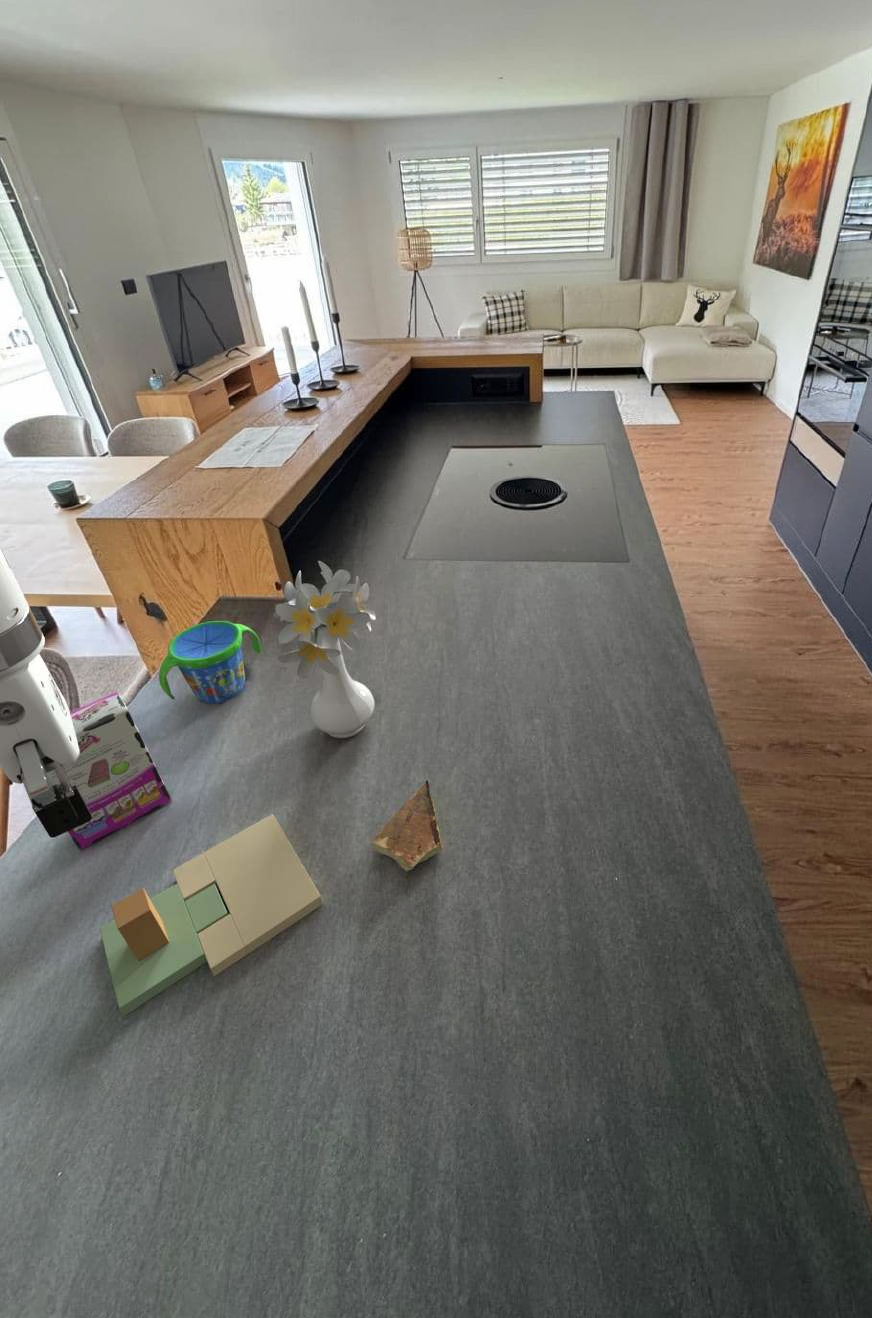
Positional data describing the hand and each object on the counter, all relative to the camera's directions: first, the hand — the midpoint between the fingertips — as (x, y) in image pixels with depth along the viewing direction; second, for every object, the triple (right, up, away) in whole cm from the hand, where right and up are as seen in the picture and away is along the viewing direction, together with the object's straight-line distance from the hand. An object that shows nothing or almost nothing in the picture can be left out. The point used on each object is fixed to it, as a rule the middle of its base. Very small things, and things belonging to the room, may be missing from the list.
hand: (64, 790), depth 57 cm
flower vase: (+18, -2, +35) cm, 40 cm away
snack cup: (-4, +2, +44) cm, 44 cm away
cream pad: (+12, -16, +14) cm, 24 cm away
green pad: (+5, -19, +9) cm, 22 cm away
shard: (+29, -12, +20) cm, 37 cm away
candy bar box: (-9, -11, +24) cm, 27 cm away
